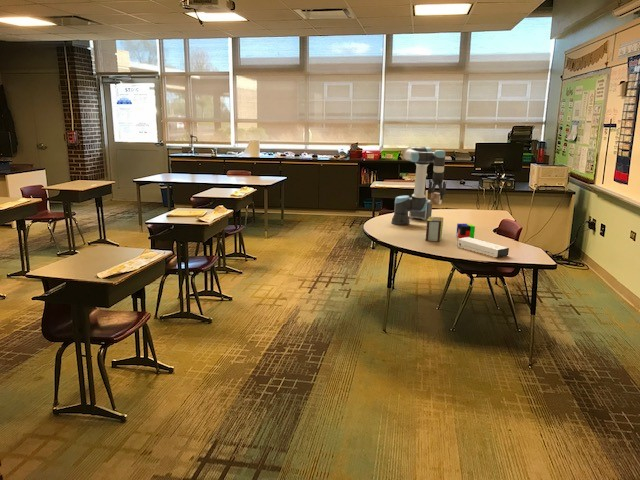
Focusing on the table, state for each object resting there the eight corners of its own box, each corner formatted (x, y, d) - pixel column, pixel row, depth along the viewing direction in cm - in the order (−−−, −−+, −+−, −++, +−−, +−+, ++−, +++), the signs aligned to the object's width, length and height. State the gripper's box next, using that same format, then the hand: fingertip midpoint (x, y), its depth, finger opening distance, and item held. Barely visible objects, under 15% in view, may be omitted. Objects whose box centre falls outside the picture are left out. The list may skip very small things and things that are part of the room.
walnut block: (430, 203, 366) (431, 193, 364) (434, 202, 370) (435, 192, 368) (437, 204, 362) (438, 194, 360) (441, 203, 366) (442, 193, 364)
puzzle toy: (456, 236, 384) (457, 223, 381) (468, 236, 384) (470, 223, 382) (460, 239, 374) (462, 226, 371) (473, 239, 375) (475, 226, 372)
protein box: (441, 237, 378) (443, 217, 374) (439, 242, 364) (441, 221, 360) (427, 236, 381) (429, 216, 378) (425, 240, 367) (426, 220, 363)
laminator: (507, 256, 332) (509, 247, 330) (496, 259, 325) (497, 250, 324) (467, 245, 359) (468, 236, 357) (455, 247, 352) (456, 238, 351)
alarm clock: (432, 218, 446) (434, 198, 442) (427, 221, 435) (428, 200, 431) (413, 216, 456) (414, 196, 451) (407, 218, 445) (409, 198, 440)
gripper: (424, 171, 364) (421, 202, 370) (447, 173, 351) (444, 205, 357) (429, 170, 369) (427, 201, 375) (452, 172, 357) (450, 204, 362)
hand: (435, 203), depth 366 cm, fingers closed on walnut block, 6 cm apart
